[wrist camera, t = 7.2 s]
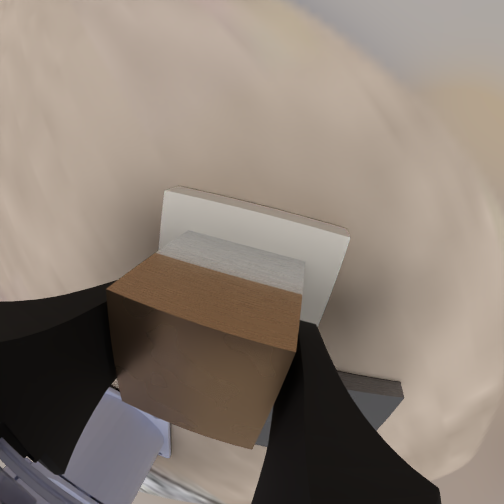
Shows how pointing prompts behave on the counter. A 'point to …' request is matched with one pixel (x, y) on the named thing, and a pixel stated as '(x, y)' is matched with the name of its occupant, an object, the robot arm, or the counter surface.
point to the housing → (206, 334)
